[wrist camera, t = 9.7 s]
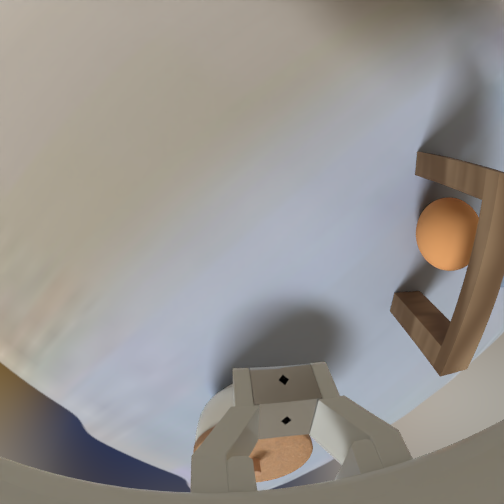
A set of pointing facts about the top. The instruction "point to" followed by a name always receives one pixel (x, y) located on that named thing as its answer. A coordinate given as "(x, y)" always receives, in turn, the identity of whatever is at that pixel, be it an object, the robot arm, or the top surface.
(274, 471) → the lidded jar
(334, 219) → the top surface
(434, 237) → the ball
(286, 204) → the top surface
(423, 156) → the bridge
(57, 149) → the top surface
